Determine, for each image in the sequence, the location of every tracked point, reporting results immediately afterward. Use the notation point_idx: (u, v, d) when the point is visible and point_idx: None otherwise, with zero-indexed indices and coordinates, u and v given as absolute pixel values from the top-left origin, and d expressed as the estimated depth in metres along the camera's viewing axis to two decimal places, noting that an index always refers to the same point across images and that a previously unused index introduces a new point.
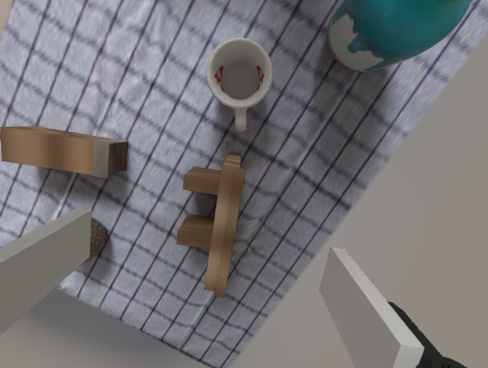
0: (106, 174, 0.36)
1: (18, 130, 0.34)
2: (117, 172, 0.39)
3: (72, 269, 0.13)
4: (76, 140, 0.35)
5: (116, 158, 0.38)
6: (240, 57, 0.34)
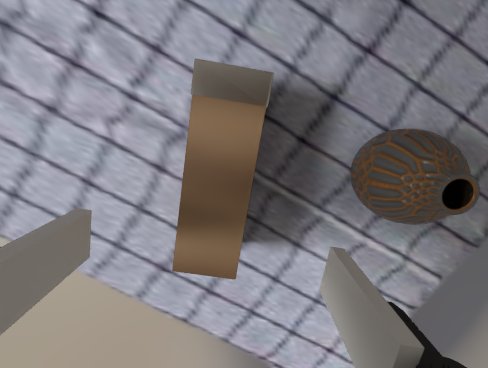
0: (265, 73, 0.16)
1: (177, 242, 0.18)
2: None
3: (72, 269, 0.13)
4: (190, 132, 0.16)
5: None
6: None
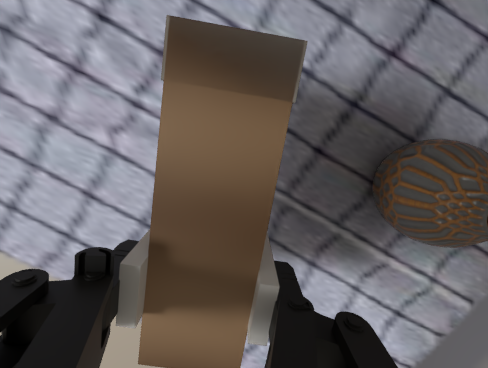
0: (292, 42, 0.09)
1: (145, 320, 0.11)
2: None
3: None
4: (162, 145, 0.10)
5: None
6: None
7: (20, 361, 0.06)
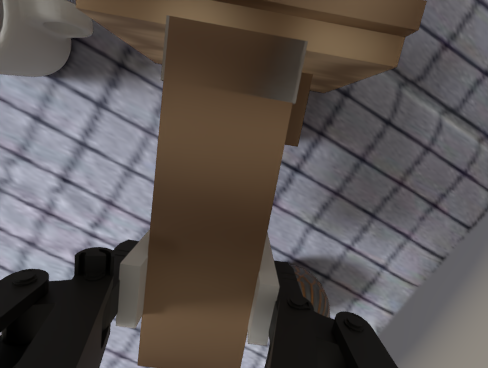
0: (292, 42, 0.09)
1: (144, 321, 0.11)
2: None
3: None
4: (162, 146, 0.09)
5: None
6: None
7: (20, 361, 0.06)
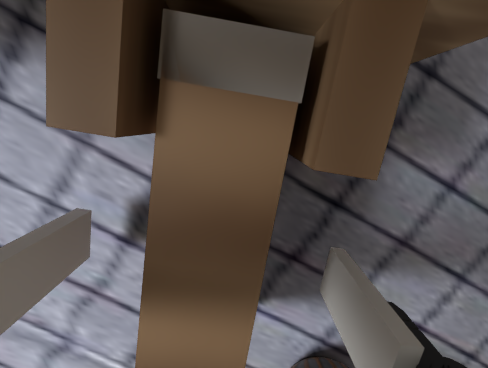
0: (298, 38, 0.08)
1: (141, 333, 0.11)
2: None
3: (72, 269, 0.13)
4: (159, 149, 0.09)
5: None
6: None
7: None
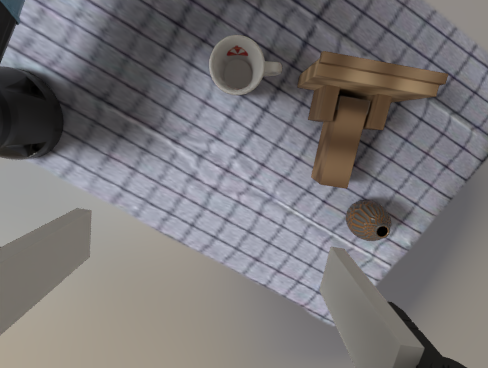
0: (367, 101, 0.40)
1: (324, 171, 0.43)
2: None
3: (72, 269, 0.13)
4: (335, 124, 0.41)
5: None
6: (220, 70, 0.41)
7: None
